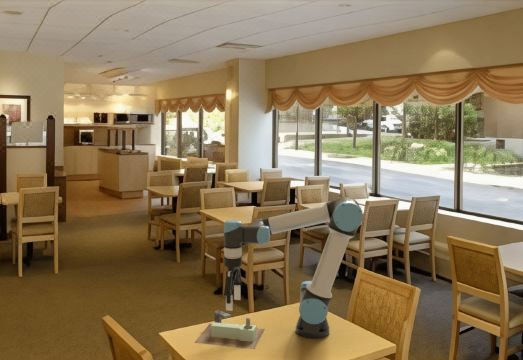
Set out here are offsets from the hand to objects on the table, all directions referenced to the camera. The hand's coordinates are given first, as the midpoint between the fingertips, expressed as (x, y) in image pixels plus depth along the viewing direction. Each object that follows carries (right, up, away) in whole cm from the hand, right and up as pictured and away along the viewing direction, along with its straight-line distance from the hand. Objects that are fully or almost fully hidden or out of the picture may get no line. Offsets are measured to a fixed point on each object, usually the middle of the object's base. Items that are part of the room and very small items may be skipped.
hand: (233, 304), depth 231 cm
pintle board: (-1, -15, +3) cm, 16 cm away
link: (0, -14, +2) cm, 14 cm away
